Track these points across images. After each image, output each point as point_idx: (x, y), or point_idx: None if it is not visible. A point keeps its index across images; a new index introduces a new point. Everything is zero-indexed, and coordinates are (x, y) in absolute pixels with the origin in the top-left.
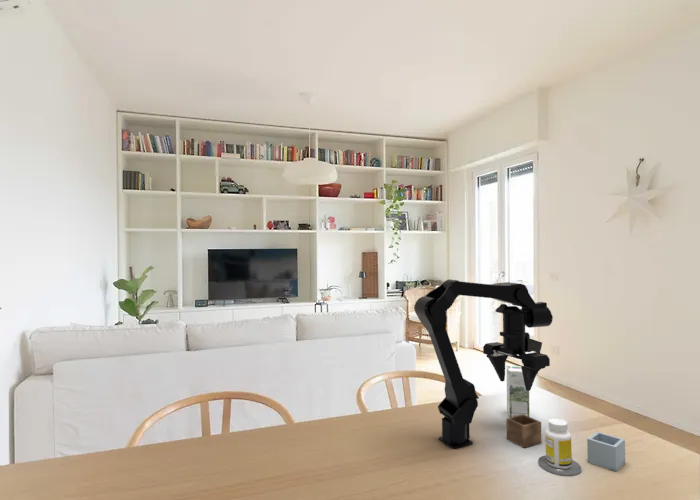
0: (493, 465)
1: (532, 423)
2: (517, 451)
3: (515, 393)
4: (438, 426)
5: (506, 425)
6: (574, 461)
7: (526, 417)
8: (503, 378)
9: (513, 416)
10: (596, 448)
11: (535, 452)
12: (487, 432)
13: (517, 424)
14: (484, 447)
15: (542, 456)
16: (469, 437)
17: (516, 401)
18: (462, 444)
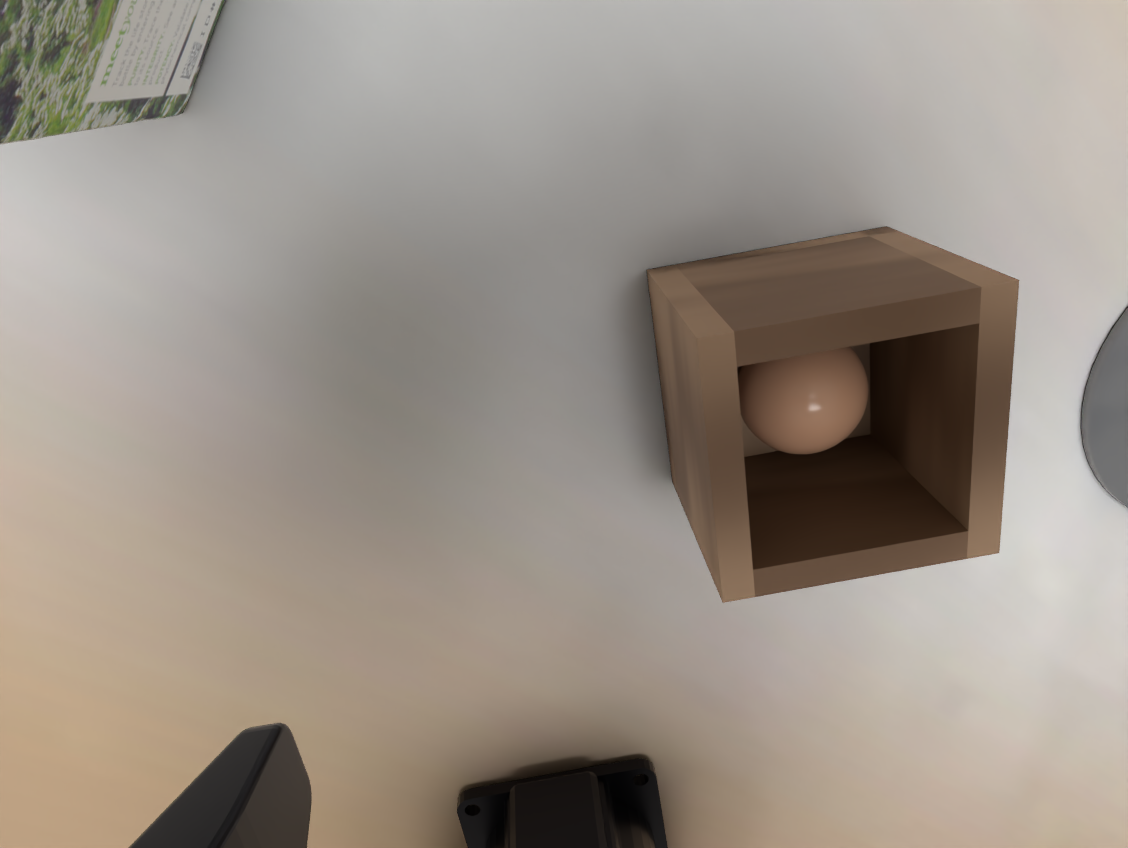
0: (962, 768)
1: (989, 416)
2: None
3: (29, 31)
4: None
5: (703, 553)
6: None
7: (798, 354)
8: (276, 802)
9: (191, 72)
10: None
11: None
12: (485, 559)
13: (891, 564)
14: (726, 707)
15: (1095, 424)
16: (597, 780)
17: (113, 20)
18: (660, 841)
